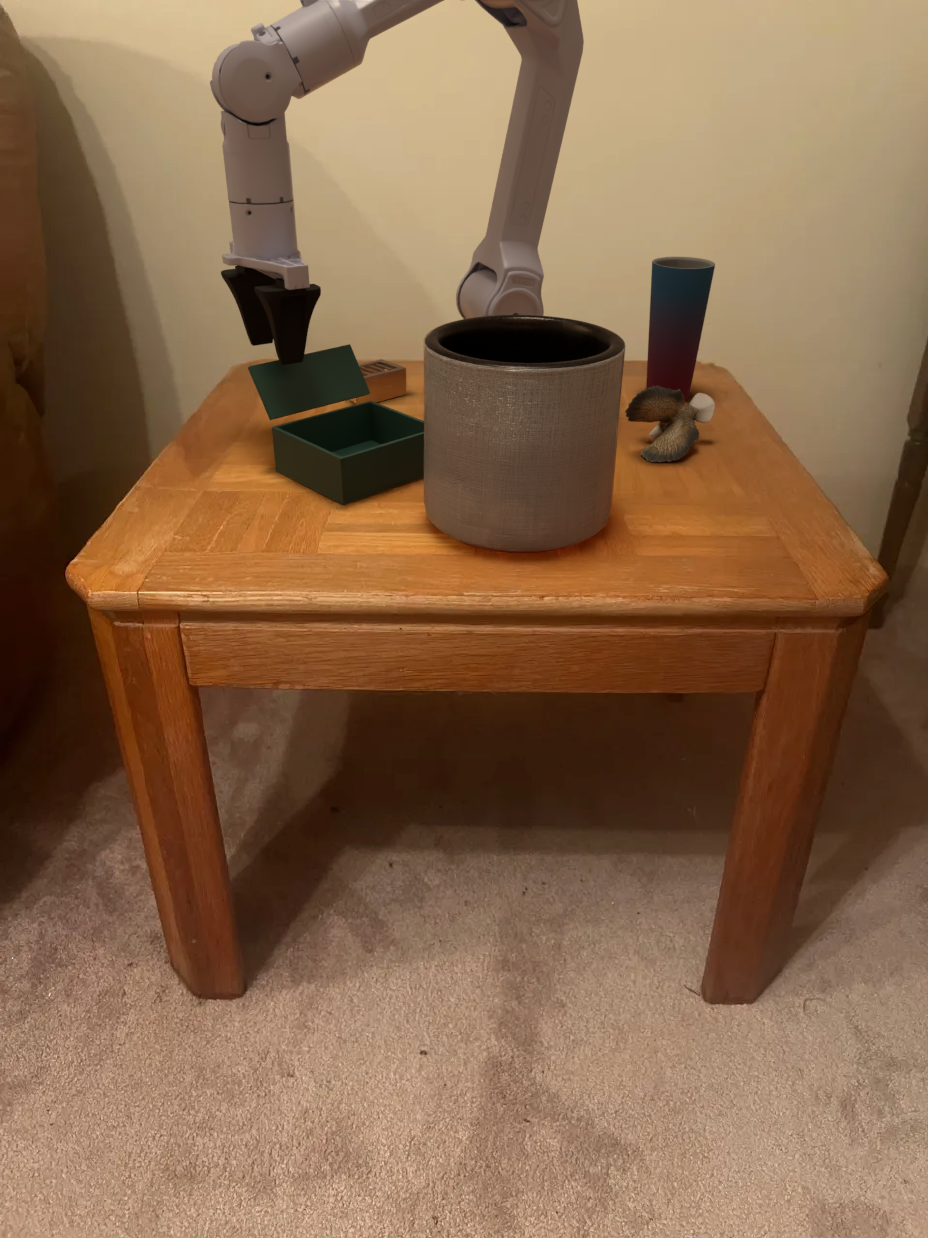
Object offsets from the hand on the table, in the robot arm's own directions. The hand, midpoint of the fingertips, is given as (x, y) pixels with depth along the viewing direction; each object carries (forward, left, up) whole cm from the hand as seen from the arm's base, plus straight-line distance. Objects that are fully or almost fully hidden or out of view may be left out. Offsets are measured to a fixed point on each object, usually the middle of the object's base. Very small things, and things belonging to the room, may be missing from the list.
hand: (276, 352), depth 91 cm
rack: (-14, -11, -10) cm, 21 cm away
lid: (-2, +3, -2) cm, 4 cm away
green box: (-4, +9, -10) cm, 14 cm away
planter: (-12, +26, -10) cm, 30 cm away
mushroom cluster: (-34, +18, -10) cm, 40 cm away
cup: (-45, +5, -10) cm, 47 cm away
